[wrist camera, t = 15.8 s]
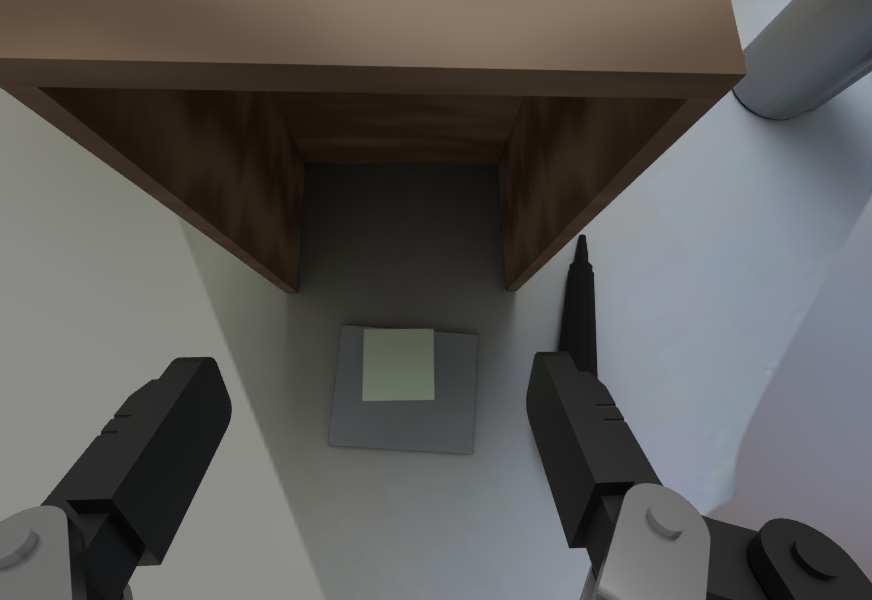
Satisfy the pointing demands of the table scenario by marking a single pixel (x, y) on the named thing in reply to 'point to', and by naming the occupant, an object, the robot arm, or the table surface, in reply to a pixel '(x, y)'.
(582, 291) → the microphone
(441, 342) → the slate mat
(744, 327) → the table surface
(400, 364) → the sage block
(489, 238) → the table surface
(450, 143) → the walnut cubby
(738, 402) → the table surface
